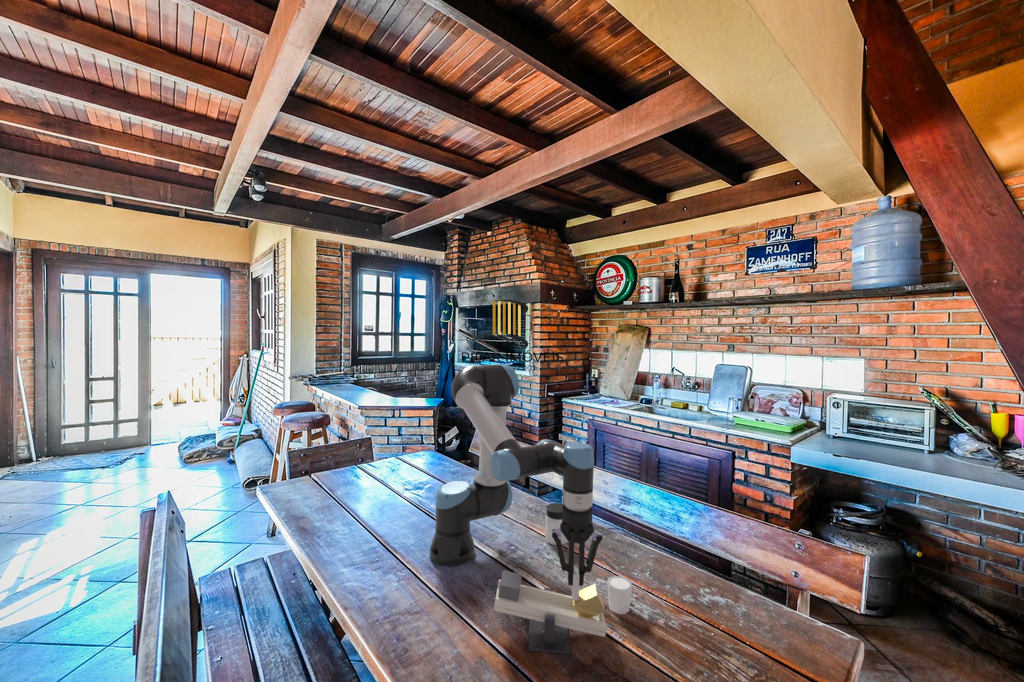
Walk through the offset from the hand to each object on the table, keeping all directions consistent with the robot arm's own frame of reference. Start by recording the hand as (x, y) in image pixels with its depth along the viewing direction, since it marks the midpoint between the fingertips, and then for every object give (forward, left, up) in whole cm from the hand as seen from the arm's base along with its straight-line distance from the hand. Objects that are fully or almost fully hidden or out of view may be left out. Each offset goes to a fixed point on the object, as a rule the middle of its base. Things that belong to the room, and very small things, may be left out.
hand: (575, 596), depth 105 cm
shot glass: (+13, +11, -10) cm, 20 cm away
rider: (0, 0, -3) cm, 3 cm away
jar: (-3, +46, -10) cm, 47 cm away
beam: (-7, 0, -4) cm, 8 cm away
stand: (-7, 0, -10) cm, 12 cm away
